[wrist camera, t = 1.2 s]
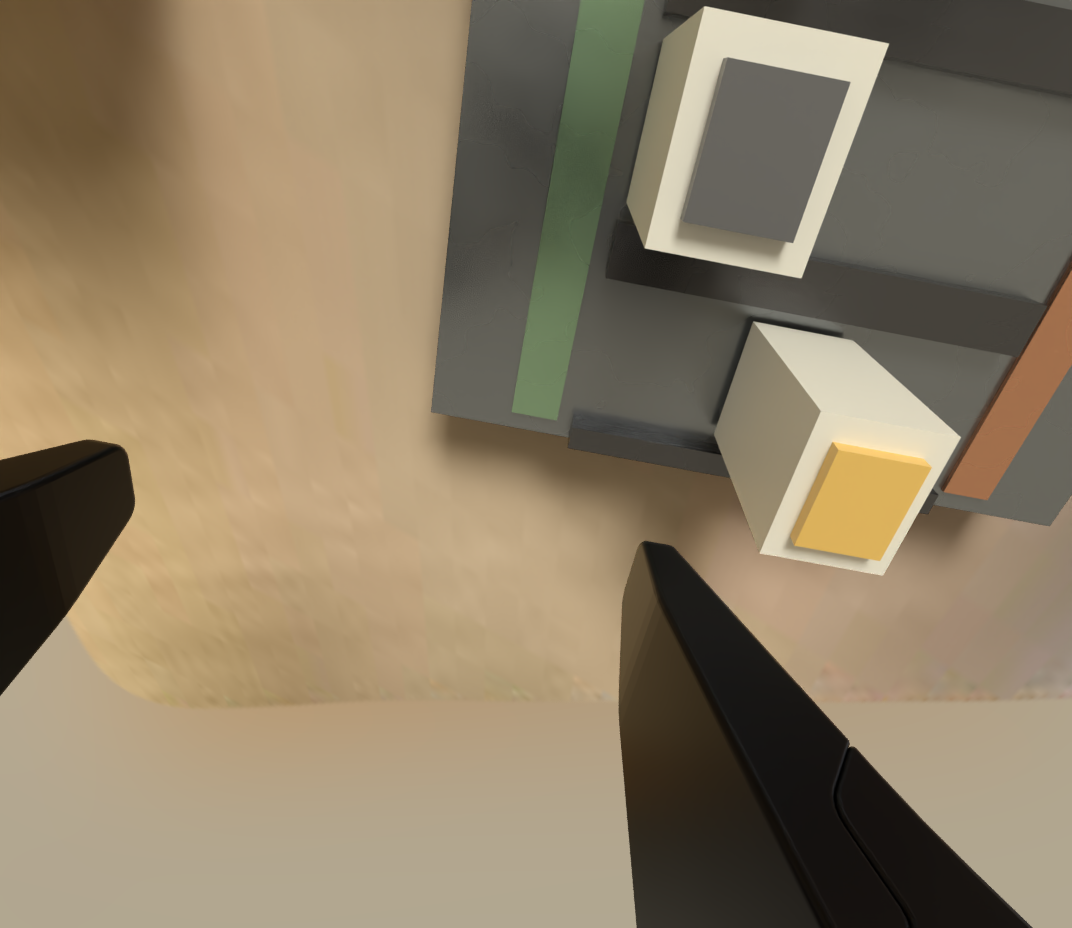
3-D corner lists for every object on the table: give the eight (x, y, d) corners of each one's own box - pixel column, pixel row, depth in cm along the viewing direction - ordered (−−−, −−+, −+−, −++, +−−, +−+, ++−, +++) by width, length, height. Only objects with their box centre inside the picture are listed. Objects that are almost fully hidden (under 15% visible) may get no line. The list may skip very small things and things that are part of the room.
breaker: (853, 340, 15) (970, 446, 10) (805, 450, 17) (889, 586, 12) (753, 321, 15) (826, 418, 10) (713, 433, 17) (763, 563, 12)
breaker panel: (1410, -184, 12) (1641, -263, 10) (998, 479, 20) (1063, 539, 17) (532, -375, 12) (515, -513, 9) (448, 376, 19) (426, 421, 17)
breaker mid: (784, 63, 13) (899, 42, 8) (734, 223, 14) (807, 283, 9) (663, 38, 12) (708, 3, 8) (626, 202, 14) (646, 252, 9)
